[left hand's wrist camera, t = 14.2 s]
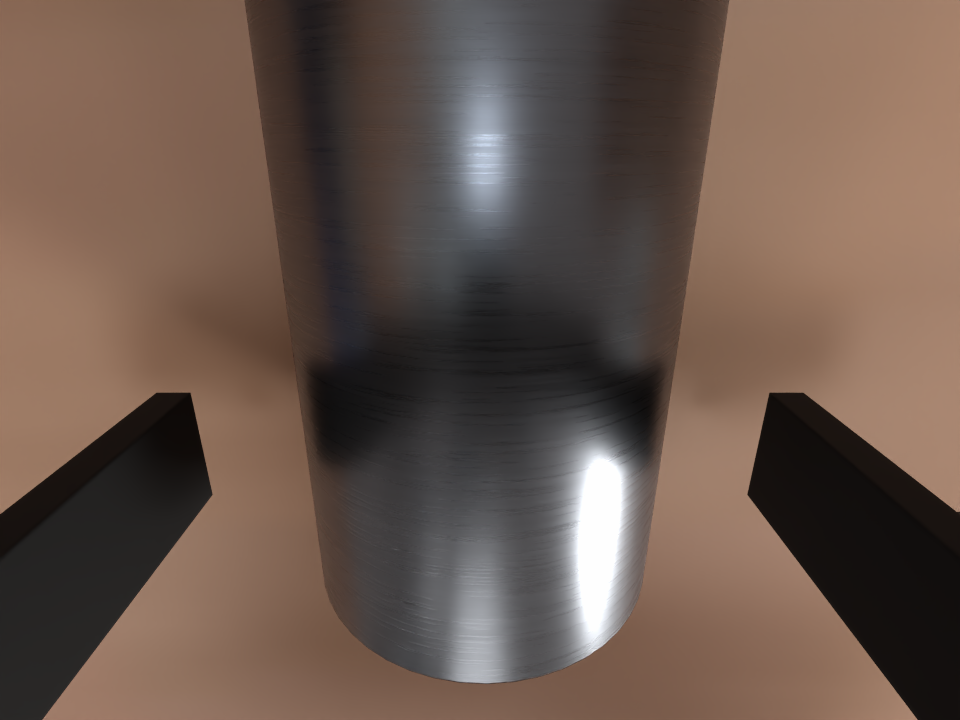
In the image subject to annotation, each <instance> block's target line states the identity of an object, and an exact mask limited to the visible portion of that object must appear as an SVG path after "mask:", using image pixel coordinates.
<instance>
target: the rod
mask: <svg viewBox="0 0 960 720" xmlns="http://www.w3.org/2000/svg"><path fill="white" fill-rule="evenodd" d="M728 5H729V0H245V6H246V13H247V21H248V28H249V35H250V42H251V50H252V57H253V64H254V72H255V79H256V86H257V93H258V101H259V108H260V115H261V123H262V130H263V137H264V144H265V152H266V159H267V166H268V174H269V181H270V188H271V195H272V203H273V210H274V217H275V225H276V232H277V239H278V246H279V254H280V261H281V268H282V276H283V283H284V290H285V297H286V305H287V312H288V319H289V327H290V334H291V341H292V348H293V356H294V363H295V370H296V378H297V385H298V392H299V399H300V407H301V414H302V421H303V429H304V436H305V443H306V450H307V458H308V465H309V472H310V480H311V487H312V494H313V501H314V509H315V516H316V523H317V531H318V538H319V545H320V552H321V560H322V567H323V574H324V582H325V587H326V591H327V594H328V597H329V600H330V603H331V604H332V606H333V608H334V610H335V612H336V613H337V615H338V617H339V619H340V620H341V621H342V622H343V624H344V625H345V626H346V627H347V628H348V630H349V631H350V632H351V633H352V634H353V635H354V636H355V637H356V638H357V639H358V640H359V641H361V642H362V643H363V644H364V645H365V646H366V647H367V648H369V649H370V650H372V651H373V652H375V653H376V654H378V655H380V656H381V657H383V658H384V659H386V660H387V661H390V662H392V663H394V664H396V665H398V666H400V667H403V668H405V669H407V670H409V671H412V672H416V673H419V674H422V675H425V676H429V677H432V678H436V679H442V680H448V681H454V682H460V683H479V684H493V683H506V682H516V681H521V680H526V679H531V678H536V677H541V676H544V675H547V674H550V673H553V672H556V671H559V670H562V669H564V668H566V667H568V666H570V665H572V664H574V663H576V662H578V661H580V660H582V659H584V658H586V657H587V656H589V655H590V654H592V653H593V652H595V651H596V650H598V649H599V648H600V647H602V646H603V645H604V644H605V643H606V642H607V641H609V640H610V639H611V638H612V637H613V636H614V635H615V634H616V633H617V632H618V631H619V630H620V628H621V627H622V626H623V624H624V623H625V622H626V620H627V619H628V617H629V616H630V615H631V613H632V611H633V608H634V606H635V604H636V602H637V600H638V597H639V593H640V590H641V586H642V581H643V574H644V568H645V561H646V554H647V548H648V541H649V534H650V528H651V521H652V514H653V507H654V501H655V494H656V487H657V481H658V474H659V467H660V461H661V454H662V447H663V440H664V434H665V427H666V420H667V414H668V407H669V400H670V394H671V387H672V380H673V373H674V367H675V360H676V353H677V347H678V340H679V333H680V326H681V320H682V313H683V306H684V300H685V293H686V286H687V280H688V273H689V266H690V259H691V253H692V246H693V239H694V233H695V226H696V219H697V213H698V206H699V199H700V192H701V186H702V179H703V172H704V166H705V159H706V152H707V146H708V139H709V132H710V125H711V119H712V112H713V105H714V99H715V92H716V85H717V79H718V72H719V65H720V58H721V52H722V45H723V38H724V32H725V25H726V18H727V12H728Z"/></svg>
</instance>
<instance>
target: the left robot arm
mask: <svg viewBox="0 0 960 720" xmlns="http://www.w3.org/2000/svg"><path fill="white" fill-rule="evenodd" d="M212 495H213V494H212V490H211V485H210V481H209V476H208V471H207V467H206V462H205V458H204V453H203V448H202V444H201V439H200V435H199V430H198V425H197V421H196V416H195V412H194V407H193V402H192V398H191V393H156V394H154V395H153V396H152V397H151V398H149V399H148V400H147V401H145V402H144V403H143V404H142V405H140V406H139V407H138V408H136V409H135V410H134V411H133V412H131V413H130V414H129V415H127V416H126V417H125V418H124V419H122V420H121V421H120V422H118V423H117V424H116V425H115V426H113V427H112V428H111V429H109V430H108V431H107V432H106V433H104V434H103V435H102V436H100V437H99V438H98V439H97V440H95V441H94V442H93V443H91V444H90V445H89V446H88V447H86V448H85V449H84V450H82V451H81V452H80V453H79V454H77V455H76V456H75V457H73V458H72V459H71V460H70V461H68V462H67V463H66V464H64V465H63V466H62V467H61V468H59V469H58V470H57V471H55V472H54V473H53V474H52V475H50V476H49V477H48V478H46V479H45V480H44V481H43V482H41V483H40V484H39V485H37V486H36V487H35V488H34V489H32V490H31V491H30V492H28V493H27V494H26V495H25V496H23V497H22V498H21V499H19V500H18V501H17V502H16V503H14V504H13V505H12V506H10V507H9V508H8V509H7V510H5V511H4V512H3V513H1V514H0V720H42V719H43V718H44V717H45V715H46V714H47V713H48V711H49V710H50V709H51V707H52V706H53V705H54V703H55V702H56V701H57V699H58V698H59V697H60V695H61V694H62V693H63V692H64V690H65V689H66V688H67V686H68V685H69V684H70V682H71V681H72V680H73V678H74V677H75V676H76V674H77V673H78V672H79V670H80V669H81V668H82V666H83V665H84V664H85V662H86V661H87V660H88V659H89V657H90V656H91V655H92V653H93V652H94V651H95V649H96V648H97V647H98V645H99V644H100V643H101V641H102V640H103V639H104V637H105V636H106V635H107V633H108V632H109V631H110V629H111V628H112V627H113V625H114V624H115V623H116V622H117V620H118V619H119V618H120V616H121V615H122V614H123V612H124V611H125V610H126V608H127V607H128V606H129V604H130V603H131V602H132V600H133V599H134V598H135V596H136V595H137V594H138V592H139V591H140V590H141V588H142V587H143V586H144V585H145V583H146V582H147V581H148V579H149V578H150V577H151V575H152V574H153V573H154V571H155V570H156V569H157V567H158V566H159V565H160V563H161V562H162V561H163V559H164V558H165V557H166V555H167V554H168V553H169V551H170V550H171V549H172V548H173V546H174V545H175V544H176V542H177V541H178V540H179V538H180V537H181V536H182V534H183V533H184V532H185V530H186V529H187V528H188V526H189V525H190V524H191V522H192V521H193V520H194V518H195V517H196V516H197V515H198V513H199V512H200V511H201V509H202V508H203V507H204V505H205V504H206V503H207V501H208V500H209V499H210V497H211V496H212ZM747 495H748V496H749V497H750V499H751V500H752V501H753V503H754V504H755V505H756V507H757V508H758V509H759V511H760V512H761V513H762V515H763V516H764V517H765V518H766V520H767V521H768V522H769V524H770V525H771V526H772V528H773V529H774V530H775V532H776V533H777V534H778V536H779V537H780V538H781V540H782V541H783V542H784V544H785V545H786V546H787V548H788V549H789V550H790V552H791V553H792V554H793V555H794V557H795V558H796V559H797V561H798V562H799V563H800V565H801V566H802V567H803V569H804V570H805V571H806V573H807V574H808V575H809V577H810V578H811V579H812V581H813V582H814V583H815V585H816V586H817V587H818V588H819V590H820V591H821V592H822V594H823V595H824V596H825V598H826V599H827V600H828V602H829V603H830V604H831V606H832V607H833V608H834V610H835V611H836V612H837V614H838V615H839V616H840V618H841V619H842V620H843V622H844V623H845V624H846V625H847V627H848V628H849V629H850V631H851V632H852V633H853V635H854V636H855V637H856V639H857V640H858V641H859V643H860V644H861V645H862V647H863V648H864V649H865V651H866V652H867V653H868V655H869V656H870V657H871V659H872V660H873V661H874V662H875V664H876V665H877V666H878V668H879V669H880V670H881V672H882V673H883V674H884V676H885V677H886V678H887V680H888V681H889V682H890V684H891V685H892V686H893V688H894V689H895V690H896V692H897V693H898V694H899V695H900V697H901V698H902V699H903V701H904V702H905V703H906V705H907V706H908V707H909V709H910V710H911V711H912V713H913V714H914V715H915V717H916V718H917V719H918V720H960V512H956V511H955V510H953V509H952V508H951V507H950V506H948V505H947V504H946V503H944V502H943V501H942V500H941V499H939V498H938V497H937V496H935V495H934V494H933V493H932V492H930V491H929V490H928V489H926V488H925V487H924V486H923V485H921V484H920V483H919V482H917V481H916V480H915V479H914V478H912V477H911V476H910V475H908V474H907V473H906V472H905V471H903V470H902V469H901V468H899V467H898V466H897V465H896V464H894V463H893V462H892V461H890V460H889V459H888V458H887V457H885V456H884V455H883V454H881V453H880V452H879V451H878V450H876V449H875V448H874V447H872V446H871V445H870V444H869V443H867V442H866V441H865V440H863V439H862V438H861V437H860V436H858V435H857V434H856V433H854V432H853V431H852V430H851V429H849V428H848V427H847V426H845V425H844V424H843V423H842V422H840V421H839V420H838V419H836V418H835V417H834V416H833V415H831V414H830V413H829V412H827V411H826V410H825V409H824V408H822V407H821V406H820V405H818V404H817V403H816V402H815V401H813V400H812V399H811V398H809V397H808V396H807V395H806V394H804V393H769V398H768V402H767V407H766V412H765V416H764V421H763V425H762V430H761V435H760V439H759V444H758V448H757V453H756V458H755V462H754V467H753V471H752V476H751V481H750V485H749V490H748V494H747Z"/></svg>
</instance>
